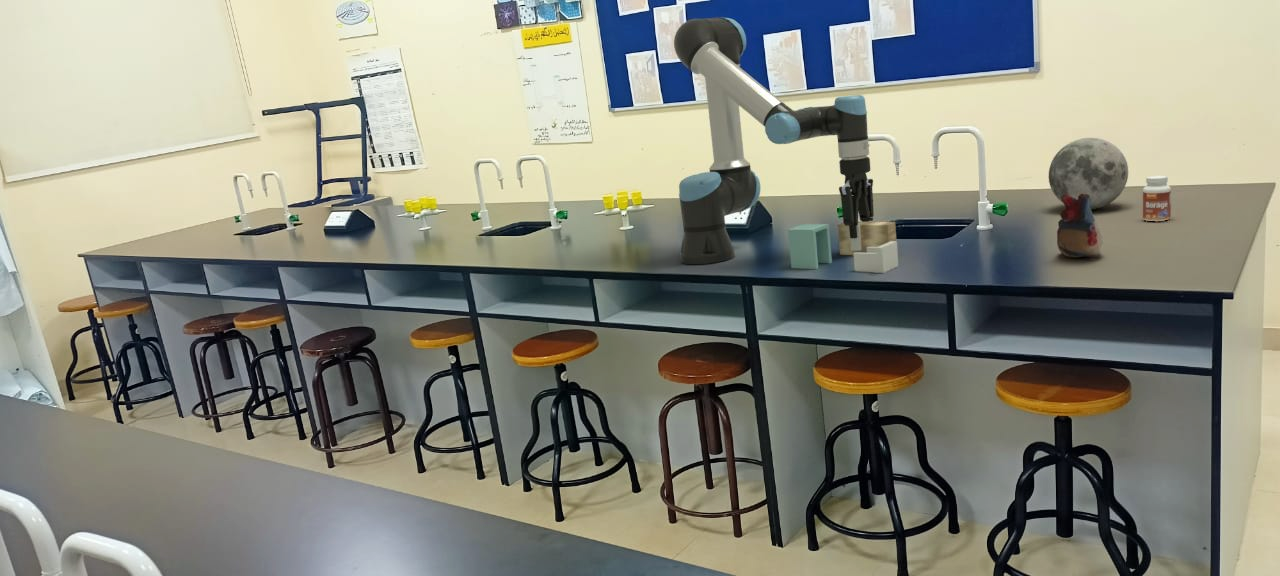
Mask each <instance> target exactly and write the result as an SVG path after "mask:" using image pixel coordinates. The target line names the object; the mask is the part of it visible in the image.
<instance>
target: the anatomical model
mask: <svg viewBox="0 0 1280 576" xmlns="http://www.w3.org/2000/svg"><path fill="white" fill-rule="evenodd" d="M1061 200H1062V202H1063V203H1062V202H1061V203H1062V204H1063V205H1064V207H1065V208H1064V209H1062V210H1061V211H1060V220H1059V221H1058V222H1057V224H1058V229H1057V231H1056V233H1057V234H1056V239H1057V241H1056V244H1057V249H1058V250H1059V252H1060V253H1061V254H1062V255H1063V256H1065V257H1068V258H1082V257H1083V258H1084V257H1089V258H1094V257H1098V256H1099V255H1101V251H1102V247H1103V244H1104V241H1103V235H1102V233H1101V229H1100V225H1099V224H1098V221H1097V220H1096V219H1095V216H1094V214H1093V211H1092V210H1091V207H1090V202H1091V197H1090V195H1088V194H1080V195H1079V196H1078V200H1077V199H1075V198H1073V197H1071V196H1070V195H1068V194H1063V195H1062V196H1061Z"/></svg>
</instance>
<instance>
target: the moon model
mask: <svg viewBox="0 0 1280 576" xmlns="http://www.w3.org/2000/svg"><path fill="white" fill-rule="evenodd" d="M1128 179H1129V165H1128V162H1127V158H1126V157H1125V155H1124V154H1123V152H1122V151H1121V149H1120V148H1118V147H1117V146H1116V145H1115V144H1113V143H1111V142H1110V141H1108V140H1105V139H1103V138H1102V139H1101V138H1097V137H1084V138H1079V139H1076V140H1073V141H1071V142H1069V143H1068V144H1066V145H1064V146H1063V147H1062V148H1060V150H1058V152H1057V153H1056V154H1055V155H1054V157H1053V158H1052V160H1051V162H1050V165H1049V169H1048V183H1049V187H1050V189H1051V191H1052V193H1053V194H1054V196H1055V197H1056V199H1058V200H1059V201H1060V202H1061V203H1062V204H1064V203H1063V202H1062V200H1061V196H1062V195H1063V194H1068V195H1070V196H1071V197H1073V198H1075V199H1077V200H1078V196H1079V195H1080V194H1088V195H1090V197H1091V202H1090V207H1091V209H1093V210H1097V209H1096V208H1098V209H1100V208H1104V207H1105V206H1108V205H1110V204H1111V203H1112V202H1114V201H1115V200H1116V199H1118V197H1119V196H1120V195H1121V194H1122V193H1123V191H1124V190H1125V187H1126V185H1127V183H1128Z"/></svg>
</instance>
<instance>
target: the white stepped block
mask: <svg viewBox="0 0 1280 576" xmlns="http://www.w3.org/2000/svg"><path fill="white" fill-rule="evenodd" d="M852 256H853V264H854V265H853V267H854V272H866V273H877V274H884V273H885V274H886V273H888V272H889V271H891V270H894V269H895V268H897V267H899V252H898V241H897V240H896V241H890V242H888V243H886V244H883V245H881V246H879V247H867V253H862V252H855V253H853V255H852Z"/></svg>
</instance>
